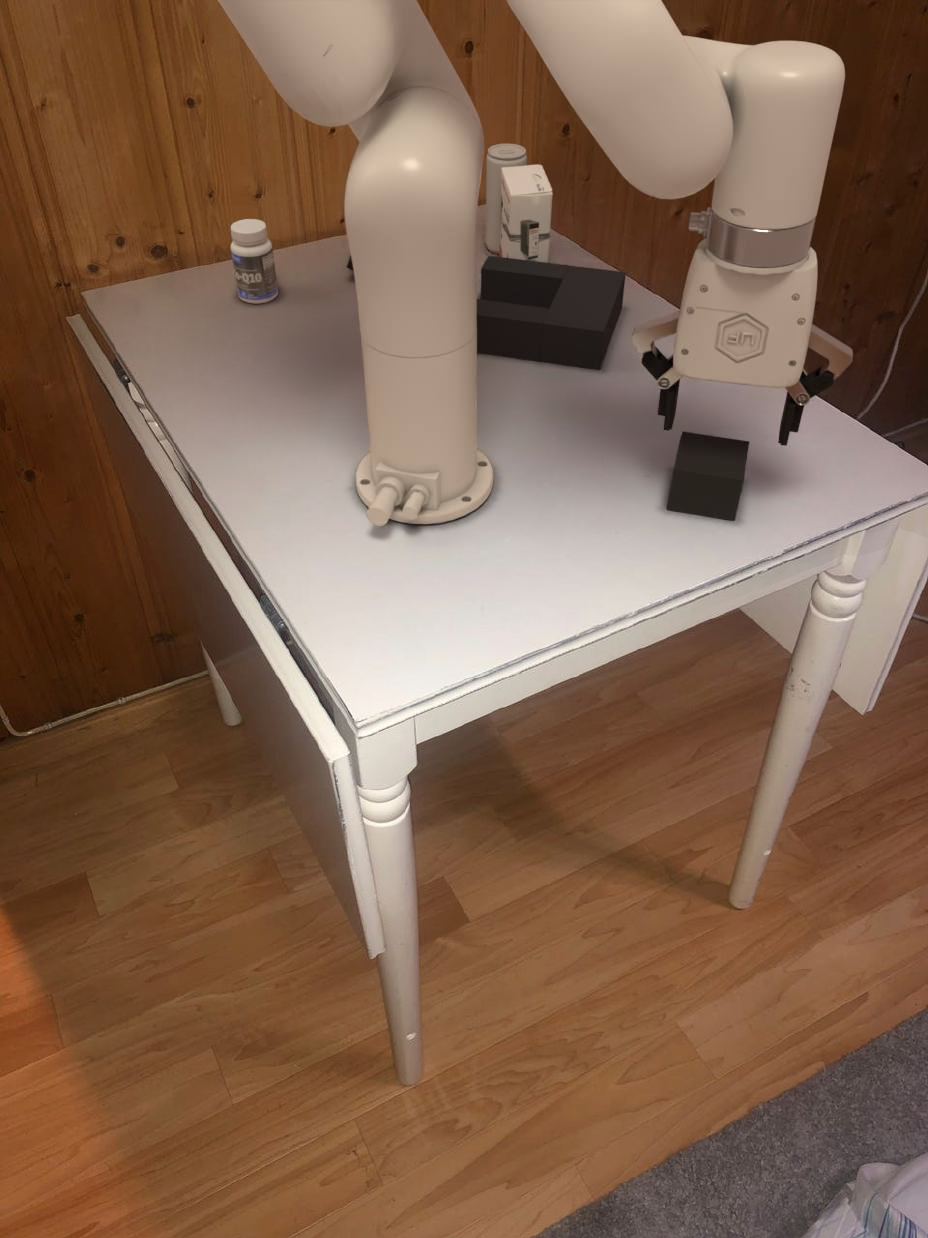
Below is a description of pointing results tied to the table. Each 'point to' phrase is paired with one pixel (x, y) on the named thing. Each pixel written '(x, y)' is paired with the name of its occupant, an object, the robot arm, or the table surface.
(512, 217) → the ink box
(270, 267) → the pill bottle
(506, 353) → the base pad
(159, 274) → the table surface
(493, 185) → the beverage can
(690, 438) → the black block
